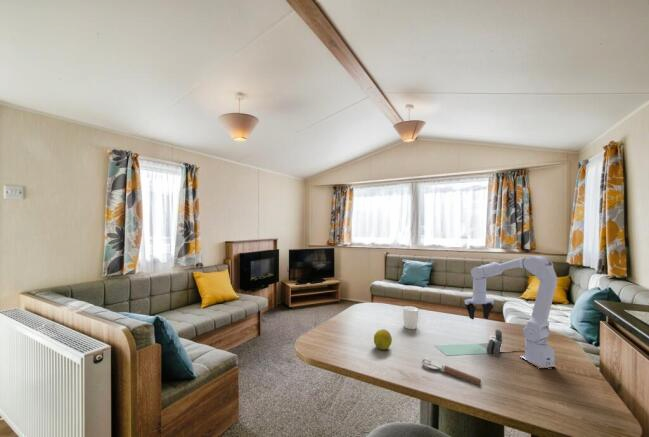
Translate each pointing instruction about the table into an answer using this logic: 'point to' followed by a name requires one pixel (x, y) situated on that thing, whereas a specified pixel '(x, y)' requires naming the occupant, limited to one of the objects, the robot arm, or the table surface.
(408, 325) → the white cup
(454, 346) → the mat
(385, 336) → the lemon
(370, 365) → the table surface
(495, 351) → the can opener
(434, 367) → the brown handled opener
